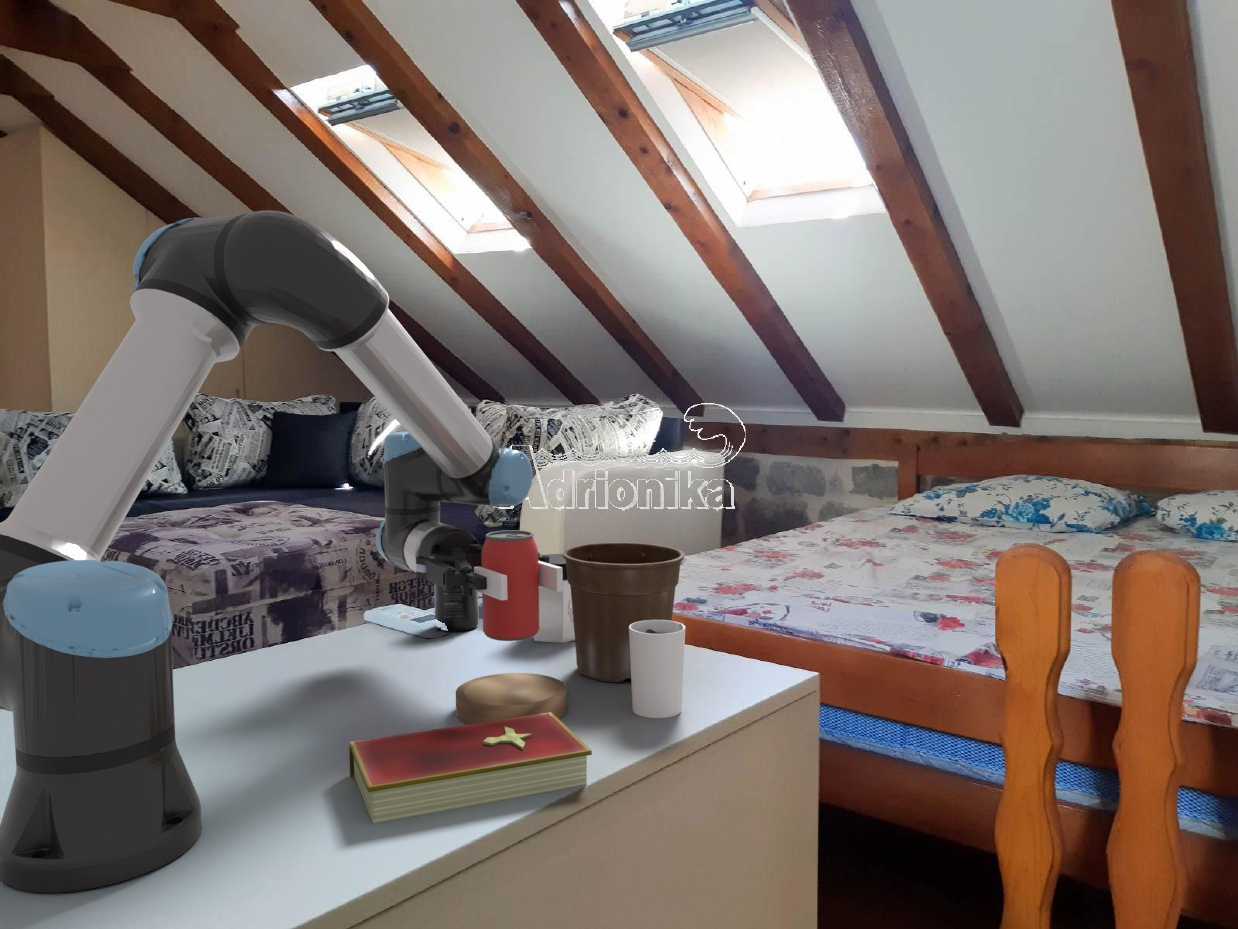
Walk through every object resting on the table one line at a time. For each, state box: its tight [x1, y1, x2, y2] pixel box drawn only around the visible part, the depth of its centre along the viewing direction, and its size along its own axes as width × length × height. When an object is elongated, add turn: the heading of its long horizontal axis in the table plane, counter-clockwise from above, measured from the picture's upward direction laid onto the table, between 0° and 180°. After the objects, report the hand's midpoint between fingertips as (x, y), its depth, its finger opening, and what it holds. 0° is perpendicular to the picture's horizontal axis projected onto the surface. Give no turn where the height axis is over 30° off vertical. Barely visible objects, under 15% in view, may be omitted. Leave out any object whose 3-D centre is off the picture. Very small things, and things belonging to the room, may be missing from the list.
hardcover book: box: [348, 712, 593, 824], centre depth 93 cm, size 12×21×4 cm, turn 114°
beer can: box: [481, 529, 539, 642], centre depth 112 cm, size 7×7×12 cm
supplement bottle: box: [433, 583, 480, 633], centre depth 151 cm, size 7×7×12 cm
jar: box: [532, 553, 575, 644], centre depth 145 cm, size 9×8×12 cm
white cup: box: [629, 620, 686, 719], centre depth 112 cm, size 7×7×10 cm
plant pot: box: [561, 542, 685, 683], centre depth 128 cm, size 16×16×16 cm
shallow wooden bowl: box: [455, 672, 568, 725], centre depth 113 cm, size 13×13×2 cm
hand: (532, 583), depth 107 cm, fingers closed on beer can, 6 cm apart
